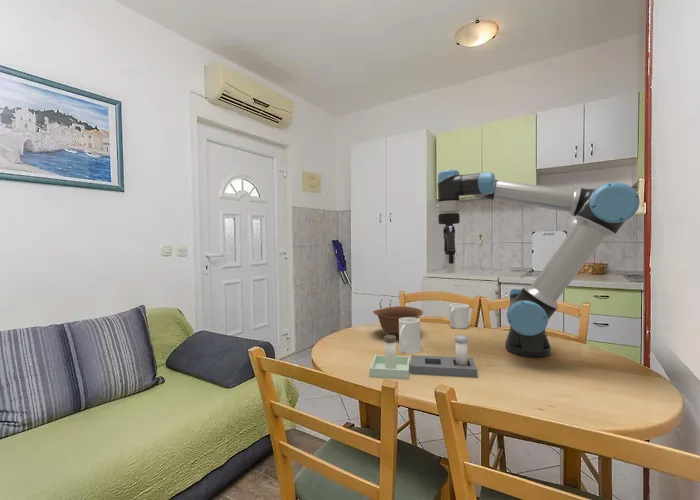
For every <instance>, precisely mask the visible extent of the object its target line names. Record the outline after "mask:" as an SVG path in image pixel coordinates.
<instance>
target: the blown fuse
mask: <svg viewBox="0 0 700 500" xmlns="http://www.w3.org/2000/svg"><path fill="white" fill-rule="evenodd" d="M383 339H384V340H383V341H384V356H385V369H396V356H397V343H396V342H397V338H396V336H395V335H388V334H386V335H384V336H383Z"/></svg>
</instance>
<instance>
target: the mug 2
mask: <svg viewBox="0 0 700 500" xmlns="http://www.w3.org/2000/svg"><path fill="white" fill-rule="evenodd" d="M448 306H449V308H448V309H449V320H450V328H453V329H456V330H466V329H468V328H469V323H470V322H469V318H470V316H469V315H470V305H469V304H466V303H460V302H459V303H451V304H449V305H448Z"/></svg>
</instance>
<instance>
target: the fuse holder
mask: <svg viewBox="0 0 700 500" xmlns="http://www.w3.org/2000/svg"><path fill="white" fill-rule="evenodd" d="M454 342H455V356H441V355H421V354H420V355H418V354H412V355H411V357H410V375H421V376H422V375H425V376H438V377H439V376H442V377H456V378H457V377H458V378H472V379H473V378H478V369H477V368H478V367H477V365H476V363H475V360H474V358H473V357H468V342H469V341H468V336H467V335H464V334H457V335H455V336H454Z"/></svg>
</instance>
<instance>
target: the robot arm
mask: <svg viewBox="0 0 700 500" xmlns="http://www.w3.org/2000/svg"><path fill="white" fill-rule="evenodd" d="M436 185H437V198H438V199H437V202H438V203H437V204H436V208H438V209H437V211H438V216H437V219H438V224H439V225H445V226H444V227H443V232H442V233H443V239H444V244H443V245H444V246H443V250H444V269H445V270H446V272H447V274H456V240H455V238H456V235H455V234H456V228H455V224H456V225H458V224H460V217H461V216H460V213H459V212H460V208H461V206H460V204H461V203H460V202H461V201H460V197H464V196H465V197H467V196H468V197H469V196H474V197H475V198H477V199H480V200H484V199H485V200H493V201H497V202H504V203H512V204H516V205H522V206H523V205H524V206H529V207H536V208H541V209H548V210H554V211H555V210H556V211H560V212H567V213H569V214H570V215H571V216H573V217H575V220H576V224H575V225H574V227H573V228H572V229H571V231H570V232H569V234H568V235H566V237H565V239H564V241H562V243H561V244H560V245H559V247H558V248H557V250H556V251H555V253H554V254H553V255H552V256H551V257H550V258H549V261H548V262H547V263H546V265H545V266H544V267H543V268H542V270H541V272H540V273H539V274H538V276H537V277H536V278H535V280H534V281H533V282H532V284H530V285H526V286H525V285H524V286H523V287H522V288H513V289H510V291H509V296H508V297H509V306H508V308H507V311H506V319H507V321H508V324H509V331H508V332H507V337H506V339H505V341H504V342H505V343H504V344H505V346H504V347H505V350H506V351H507V352H509V353H511V354H514V355H518V356H521V357H528V358H545V357H548V356H550V355H551V354H552V347H551V344H550V342H549V341H550V340H549V338H548V335H547V333H546V328H547V325H548V322H549V320H550V319H551V317H552V316H553V315H554V313H555V312H556V311H557V310H558V309H559V307H558V299H559V298H560V297H561V296H562V294H563V293H564V291H566V289H567V287H568V286H569V285H570V284H571V282H572V281H573V280H574V279H575V277H576V276H577V275H578V274H579V272H580V271H581V270H582V269H583V267H584V266H585V264H587V262H588V260H589V259H590V258H591V257H592V256H593V254H594V253H595V252H596V251H597V249H598V248H599V246H601V244H602V243H603V241H604V240H605V239H606V238H608V237H612V236H615V235H616V234H617V233H618V232H619V230H620V229H621V228H622V226H623V225H624V224H625V222H627V221H628V220H629V219H631V218H632V217H633V216H635V214H636V213H637V211H638V210H639V208H640V205H641V202H640V201H641V200H640V197H639V194H638V192H637V191H636V189H634V188H633V187H632V186H631V185H628V184H626V183H624V182H623V183H622V182H608V183H604V184H601V185H600V186H598V187H597V188H584V187H579V188H576V189H575V190H573V189H566V188H560V187H559V188H558V187H552V186H551V187H550V186H545V185H544V186H543V185H537V184H530V183H529V184H528V183H521V182H514V181H506V180H501V179H496V176H495V173H494V172H491V171H489V172H485V171H483V172H477V173H469V174H460V171H459V170H458V169H445V170H440V171H439V172H438V175H437V184H436Z"/></svg>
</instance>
